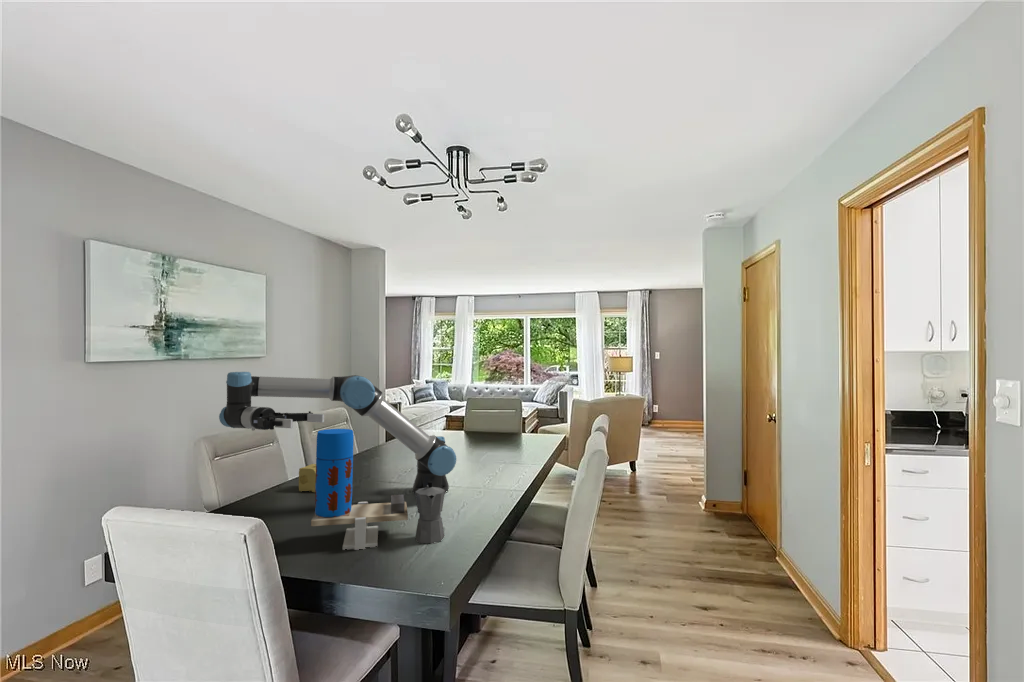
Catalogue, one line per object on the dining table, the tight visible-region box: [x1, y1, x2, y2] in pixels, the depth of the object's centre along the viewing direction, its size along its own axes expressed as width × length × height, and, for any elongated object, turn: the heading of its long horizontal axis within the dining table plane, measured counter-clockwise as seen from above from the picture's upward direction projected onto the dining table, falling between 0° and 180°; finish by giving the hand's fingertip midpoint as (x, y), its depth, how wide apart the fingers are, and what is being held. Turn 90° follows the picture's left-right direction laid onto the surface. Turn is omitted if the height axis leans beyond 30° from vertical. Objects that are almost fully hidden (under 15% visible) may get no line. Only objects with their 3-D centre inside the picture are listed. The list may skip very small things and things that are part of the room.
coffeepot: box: [414, 481, 446, 544], centre depth 158 cm, size 15×9×18 cm, turn 13°
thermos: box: [314, 428, 355, 517], centre depth 155 cm, size 11×11×25 cm
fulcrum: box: [342, 501, 379, 551], centre depth 157 cm, size 10×18×9 cm, turn 14°
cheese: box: [298, 463, 316, 493], centre depth 214 cm, size 10×11×10 cm
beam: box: [310, 494, 409, 527], centre depth 157 cm, size 28×14×5 cm, turn 104°
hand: (308, 421), depth 161 cm, fingers open, 13 cm apart
